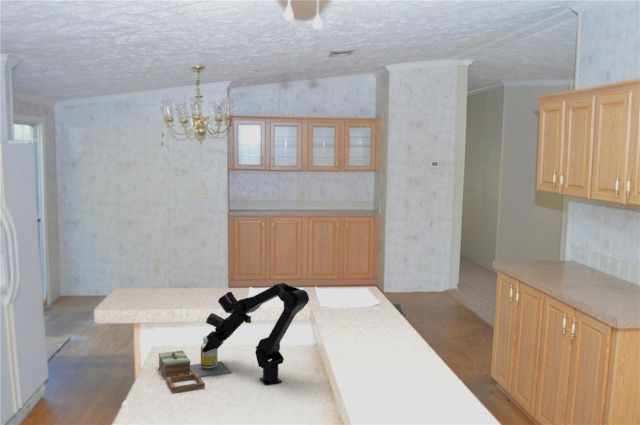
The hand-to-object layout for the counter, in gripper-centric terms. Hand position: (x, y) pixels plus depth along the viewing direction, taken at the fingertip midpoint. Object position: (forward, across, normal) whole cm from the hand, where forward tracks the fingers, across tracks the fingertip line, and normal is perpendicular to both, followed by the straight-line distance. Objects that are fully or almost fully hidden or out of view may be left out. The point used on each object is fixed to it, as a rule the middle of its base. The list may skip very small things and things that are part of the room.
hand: (205, 348), depth 214 cm
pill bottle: (+4, 0, +6) cm, 7 cm away
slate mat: (+5, 0, +7) cm, 8 cm away
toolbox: (+11, +10, +1) cm, 15 cm away
